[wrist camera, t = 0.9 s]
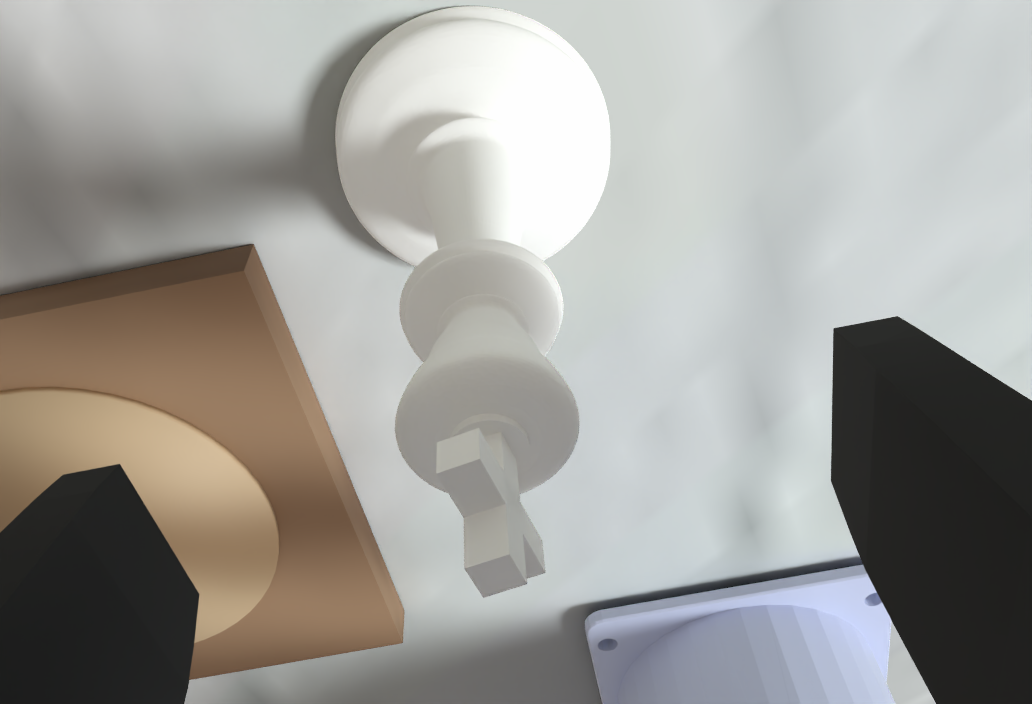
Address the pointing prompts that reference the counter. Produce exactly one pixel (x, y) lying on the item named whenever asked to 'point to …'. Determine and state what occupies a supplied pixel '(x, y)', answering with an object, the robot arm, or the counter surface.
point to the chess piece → (478, 251)
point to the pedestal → (200, 450)
